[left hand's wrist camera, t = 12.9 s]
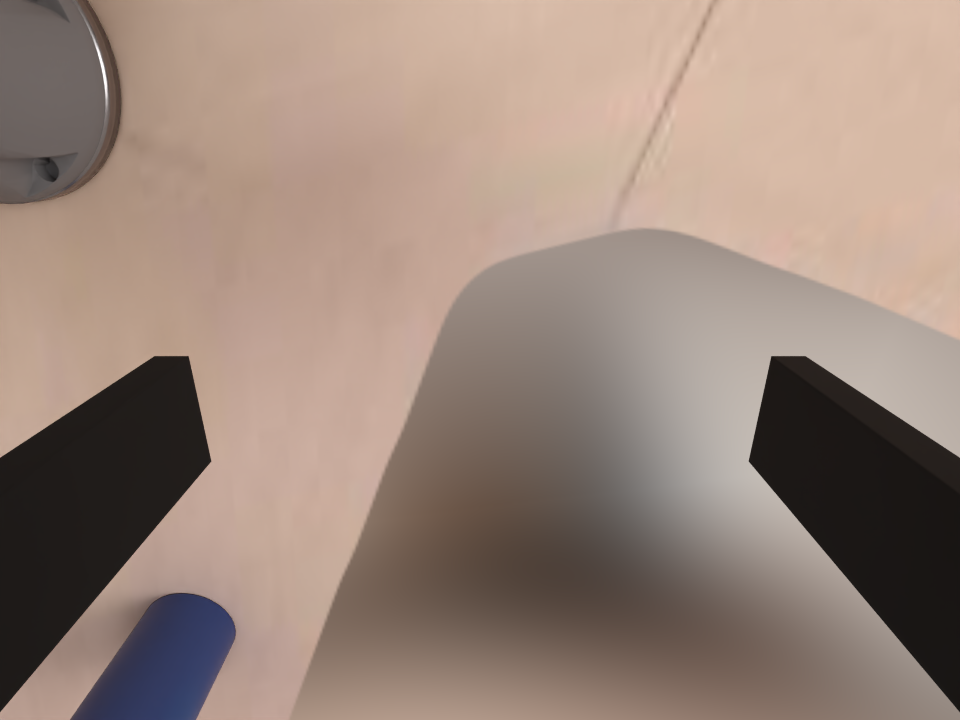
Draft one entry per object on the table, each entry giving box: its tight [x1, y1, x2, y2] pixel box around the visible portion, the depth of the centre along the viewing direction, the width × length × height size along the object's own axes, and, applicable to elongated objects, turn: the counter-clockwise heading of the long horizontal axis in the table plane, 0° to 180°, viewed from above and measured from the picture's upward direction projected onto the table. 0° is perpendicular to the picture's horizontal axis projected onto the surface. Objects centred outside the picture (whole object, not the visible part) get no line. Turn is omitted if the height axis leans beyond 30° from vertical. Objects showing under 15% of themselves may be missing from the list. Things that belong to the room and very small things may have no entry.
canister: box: [70, 594, 235, 720], centre depth 44 cm, size 8×8×12 cm
